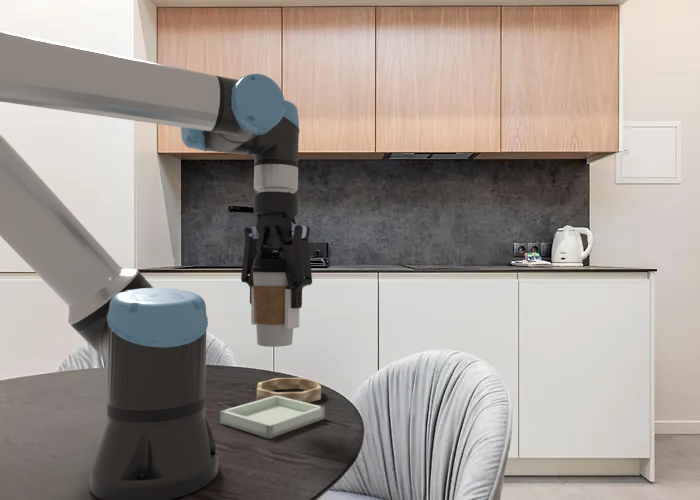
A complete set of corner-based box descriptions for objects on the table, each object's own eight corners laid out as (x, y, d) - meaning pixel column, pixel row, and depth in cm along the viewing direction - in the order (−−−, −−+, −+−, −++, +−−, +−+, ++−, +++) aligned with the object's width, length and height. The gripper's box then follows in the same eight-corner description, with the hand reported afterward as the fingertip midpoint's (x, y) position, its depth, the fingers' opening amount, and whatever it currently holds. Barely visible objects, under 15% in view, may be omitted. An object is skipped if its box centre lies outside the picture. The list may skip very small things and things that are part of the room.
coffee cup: (303, 340, 92) (304, 256, 92) (293, 348, 84) (294, 256, 84) (257, 339, 93) (258, 256, 93) (243, 347, 84) (244, 256, 85)
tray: (269, 439, 79) (269, 425, 79) (219, 423, 86) (220, 411, 86) (324, 418, 89) (324, 407, 89) (276, 405, 97) (276, 395, 97)
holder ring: (289, 409, 95) (289, 397, 95) (243, 397, 103) (244, 386, 103) (332, 395, 105) (333, 384, 105) (288, 385, 113) (288, 375, 113)
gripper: (335, 190, 85) (334, 328, 85) (252, 198, 98) (251, 319, 97) (304, 185, 79) (303, 334, 79) (220, 194, 92) (219, 322, 91)
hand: (274, 325), depth 88 cm, fingers closed on coffee cup, 7 cm apart
